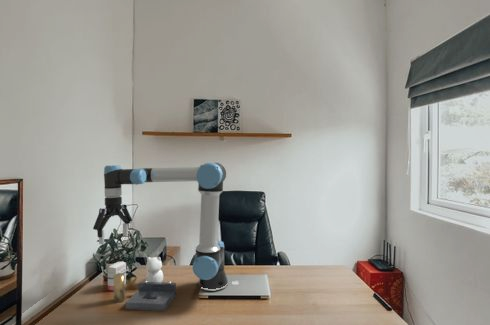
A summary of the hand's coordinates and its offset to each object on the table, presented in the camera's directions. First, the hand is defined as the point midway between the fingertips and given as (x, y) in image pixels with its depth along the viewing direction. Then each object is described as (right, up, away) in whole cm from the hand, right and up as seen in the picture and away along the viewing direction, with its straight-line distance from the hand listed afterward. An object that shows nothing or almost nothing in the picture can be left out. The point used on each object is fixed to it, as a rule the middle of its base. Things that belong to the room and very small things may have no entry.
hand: (114, 239), depth 132 cm
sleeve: (+5, -27, -5) cm, 28 cm away
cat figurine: (+16, -27, +13) cm, 34 cm away
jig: (+21, -27, -7) cm, 35 cm away
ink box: (-3, -27, +9) cm, 29 cm away
